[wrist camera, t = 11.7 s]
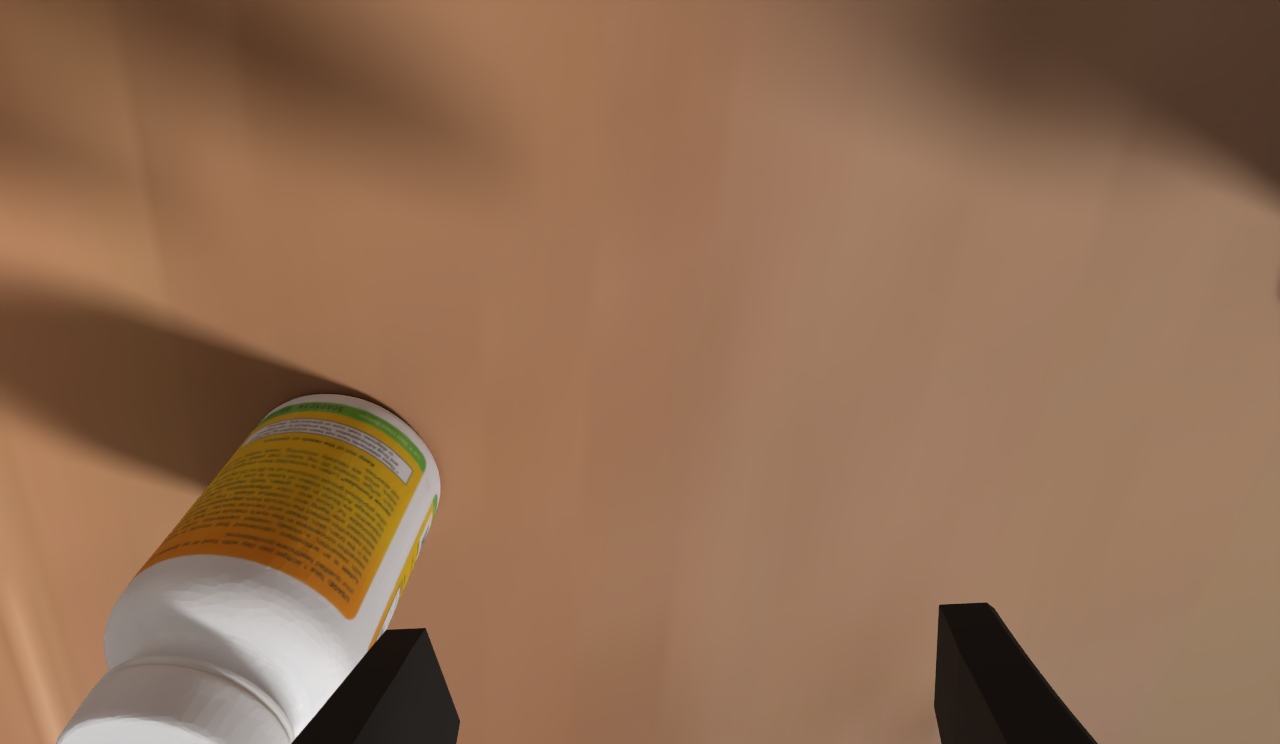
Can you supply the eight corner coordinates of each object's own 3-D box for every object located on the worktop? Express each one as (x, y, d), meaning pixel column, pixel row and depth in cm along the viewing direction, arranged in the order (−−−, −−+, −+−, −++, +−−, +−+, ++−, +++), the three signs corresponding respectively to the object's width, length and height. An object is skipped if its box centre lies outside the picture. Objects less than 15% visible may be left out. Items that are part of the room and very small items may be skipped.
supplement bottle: (225, 394, 23) (-49, 693, 15) (415, 379, 22) (240, 684, 14) (292, 545, 26) (92, 870, 17) (464, 536, 25) (341, 869, 17)
